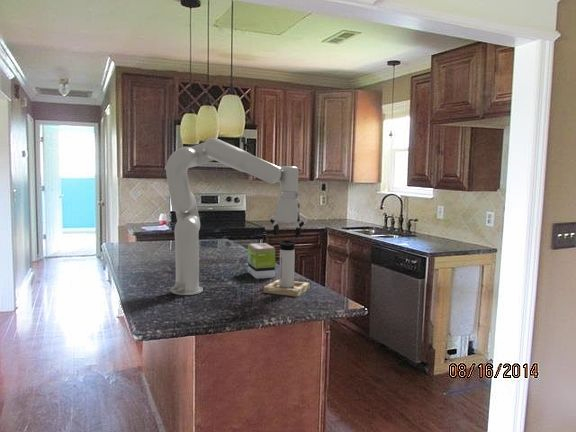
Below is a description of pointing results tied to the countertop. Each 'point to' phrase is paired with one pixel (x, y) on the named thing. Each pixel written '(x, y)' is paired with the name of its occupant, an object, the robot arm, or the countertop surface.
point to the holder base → (296, 291)
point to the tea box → (261, 260)
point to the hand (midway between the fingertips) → (286, 236)
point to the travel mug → (287, 264)
